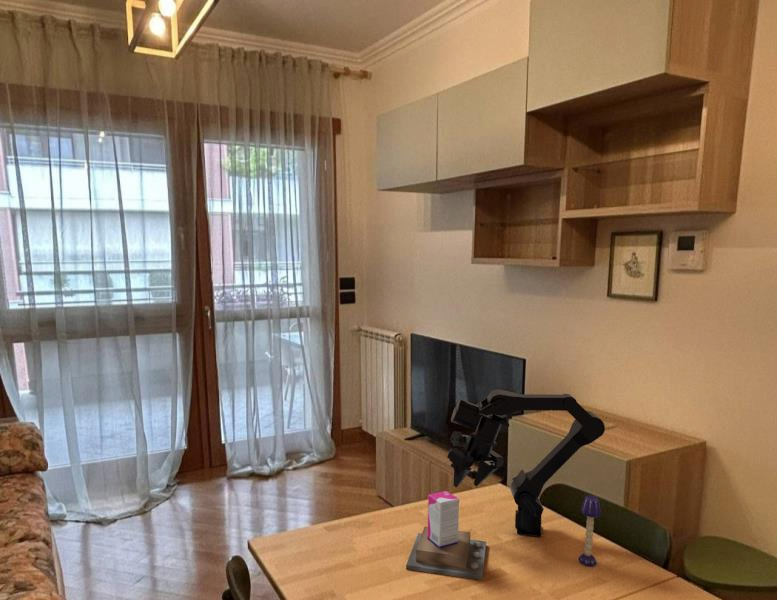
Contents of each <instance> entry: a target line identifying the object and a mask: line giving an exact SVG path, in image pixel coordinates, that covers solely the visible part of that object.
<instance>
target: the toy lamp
mask: <svg viewBox="0 0 777 600" xmlns="http://www.w3.org/2000/svg"><path fill="white" fill-rule="evenodd" d="M601 511H602V509H601V505H600V500H599V498H598V497H597V496H596V495H592V494H588V495H585V497H584V500H583V502H582V505H581V507H580V512H581V514H583V516H586V518H587V519H586V522H585V523H586V526H585V537H584V541H585V542H584V551H583V553H581V554H579V556H578V559H577V560H578V562H579V564H581V565H582V566H585V567H589V568H591V567H596V565H598V563H597V559H596V557H595V556H594V555H593V554H592V549H593V537H594V532H593V531H594V524H595V522H594V519H595V518H598V517H601V515H602V512H601Z"/></svg>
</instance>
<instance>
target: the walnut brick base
mask: <svg viewBox="0 0 777 600" xmlns="http://www.w3.org/2000/svg"><path fill="white" fill-rule="evenodd" d="M427 533H428V526H424V527H423V529H422V532H418V533H417V535H416V538H415V540H414V544H413V546H412V548H411V550H410V554H409V556H408V559H407V562H406V564H405V569H406V570H411V571H418V572H424V573H430V574H431V573H432V574H437V575H442V576H443V575H444V576H445V575H446V576H449V577H451V576H452V577H458V578H466V579H473V580H477V581H478V580H479V581H482V580H483V577H484V576H483V575H484V566H485V559H486V551H487V550H486V549H487V541H483V540H479V539H478V540H477V539H471V532H470V531H465V530H458V543H457V544H455V545H451V546H447V547H444V548H440V549H439V548H438V547H437V546H436V545H434V544H433V543H432V542H431V541H430V540H428V539H427Z"/></svg>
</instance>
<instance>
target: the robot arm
mask: <svg viewBox="0 0 777 600" xmlns="http://www.w3.org/2000/svg"><path fill="white" fill-rule="evenodd" d="M521 411H554V412H555V411H565V412H568V414H570V415H571V416H572V417H573V418H574V420H573V422H572V423H571V426H570V428H569V431H568V433H567V434H566V435H565V437H563V438H562V440H560V442H559V443H558V444H557V445H556V446H554V448H552V449H551V451H550V452H549V453H547V454H546V456H544V458H543V459H541V461H540V462H539V463H537V465H536V466H535V467H534V468H533V469H532V470H530V471H527V472H525V471H524V469H521V470H520V471H519V472H518V473H517V475H516V476H514V477H513V478H512V482H511V483H510V492H511V495H512V497H513V501H514V502H515V504H516V506H517V509H515V515H514V516H515V517H514V518H515V519H514V524H515V525H514V529H515V530H516V534H517V535H524V536H530V537H531V536H532V537H542V536H543V534H542V515H543V512H544V507H543V505H542V503H541V500H540V498H539V497H540V495H541V494H542V491H543V488H544V486H545V484H546V483H547V482H548V481H549V480H550V479H551V478H552V477H553V476H554V475H555V474H556V473H557V472H558V471H559V470H560V469H561V468H562V467H563V466H564V465H565V464H566V463H567V461H569V460H570V459H571V458H572V457H573V455H575V453H577V452H578V451H579V449H581V448H582V447H585V446H587V445H590V444H592V443H594V442H595V441H596V440H598V439H599V438H601V437H602V436H603V435H604V434H605V431H606V428H605V427H606V426H605V423H604V421H603V420H602V419H601V418H600V417H599V416H597V414H595V413H594V412H592V411H588V410H586V409H585V408H584V407H583V406H582V405H581V404H580V403H579V402H578V401H577V400H576V398H575V397H574V396H573V395H571V394H570V393H562V394H541V393H540V394H531V393H530V394H521V393H516V392H513V391H509V390H503V389H494V390H491V391H490V392H489V393H488V395H487V397H486V398H484V399H482V400H480V401H479V402H478V403H472V402H470V401H467V400H466V399H464V398H459V400H458V402H457V403H456V406H455V407H454V409H453V412H452V415H451V417H450V422H451V423H454V424H457V425H459V426H463V427H465V428H467V429H470V430H471V429H474V428H476V429H475V432H471V433H470V434H469V435H466V434H463V433H462V431H453V432H452V434H451V436H450V441H451V442H450V443H452V444H453V445H452V446H453V447H463V448H450V449H449V450H448V453H447V454H446V455H447V456H446V458H448V459H449V461H450V462H451V463H452V465H453V487H454V488H458V487H459V486H460V485H461V483H462V482H463V480H464V479H465V478H466V477H467V475H469V473H470V472H471V470H472V469H471V467H472V466H473V464H474V462H477V463H478V468H477V471H476V475H475V477H474V482H473V485H474V486H475V487H478V486H479V485H481V483H482V482H484V481H485V480H486V479H487V478H488V477H489V476H491V475H492V474H494V472H495V471H498V470H499V468H502V467H503V464H504V462H505V461H504V457H503V456H502V455H500V454H499V453H497V452H495V451H494V450H493V448H494V447H495V448H496V447H497V445H498V442H496V440H497V436H498V434H499V431H500V430H501V426H504V427H507V428H508V427H510V423H509V421H508V417H507V415H510V414H515V413H519V412H521ZM467 452H468V453H467Z"/></svg>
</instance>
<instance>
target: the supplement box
mask: <svg viewBox="0 0 777 600" xmlns="http://www.w3.org/2000/svg"><path fill="white" fill-rule="evenodd" d="M427 498H428V502H427V505H428V507H427V527H428V533H427V539H428V540H430V541H431V542H432V543H433V544H434V545H436V546H437V547H438V548H439V549H440V548H444V547H447V546H451V545H455V544H457V543H458V531H459V521H460V520H459V519H460V515H459V514H460V499H459V498H458V497H457V496H455V495H454V494H452V493H450V492H449V491H447V490H444V491H439V492H436V493H430V494H428V497H427Z"/></svg>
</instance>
